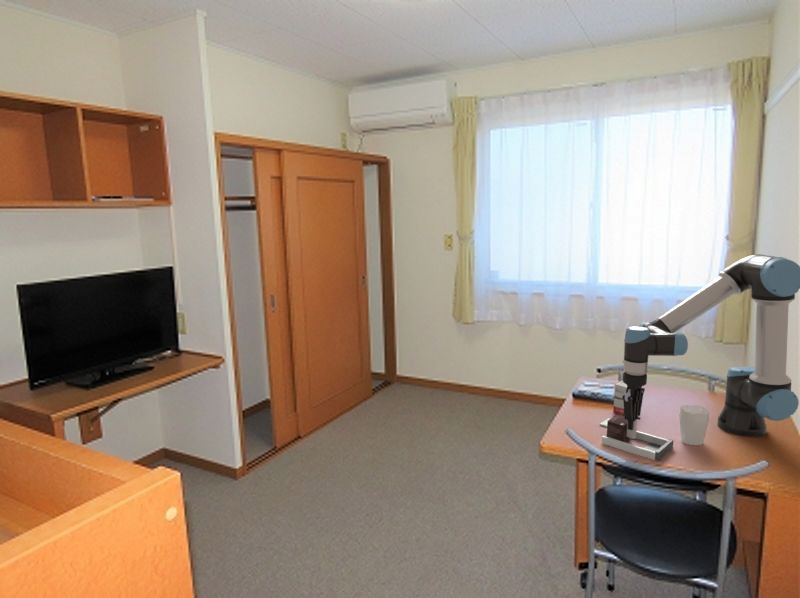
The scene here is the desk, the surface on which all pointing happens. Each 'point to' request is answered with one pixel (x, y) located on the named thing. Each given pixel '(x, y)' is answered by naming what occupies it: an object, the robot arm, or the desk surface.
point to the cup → (693, 424)
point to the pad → (604, 423)
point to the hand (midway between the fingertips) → (631, 437)
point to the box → (617, 429)
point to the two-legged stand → (652, 450)
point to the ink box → (619, 397)
